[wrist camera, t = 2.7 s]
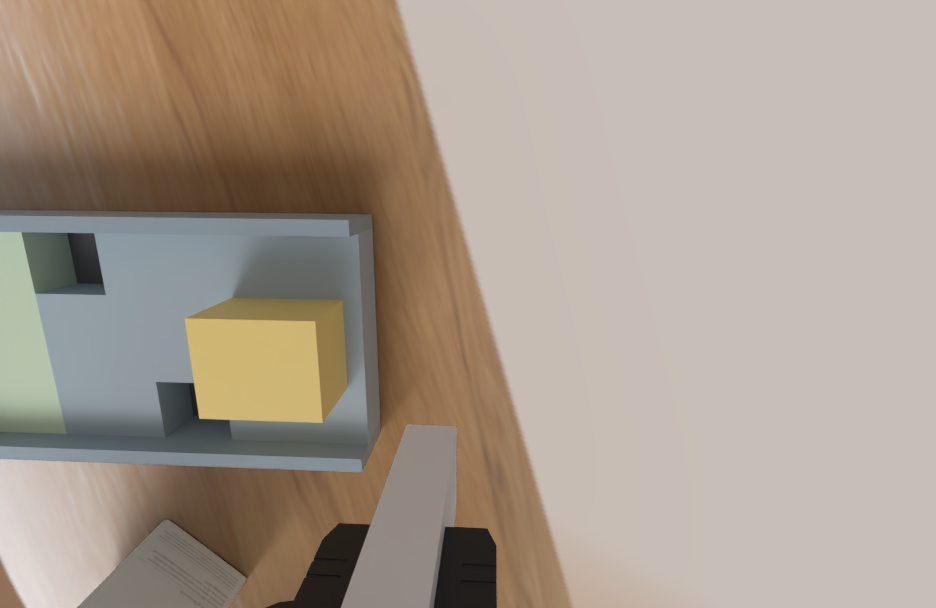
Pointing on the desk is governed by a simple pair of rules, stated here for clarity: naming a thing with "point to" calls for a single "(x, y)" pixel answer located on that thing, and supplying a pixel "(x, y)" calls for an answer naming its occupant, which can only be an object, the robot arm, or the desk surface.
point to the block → (268, 359)
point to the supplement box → (168, 575)
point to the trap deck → (170, 334)
